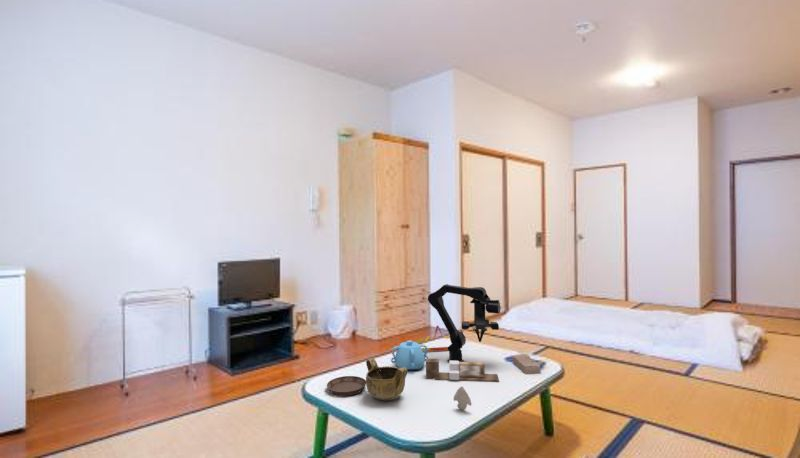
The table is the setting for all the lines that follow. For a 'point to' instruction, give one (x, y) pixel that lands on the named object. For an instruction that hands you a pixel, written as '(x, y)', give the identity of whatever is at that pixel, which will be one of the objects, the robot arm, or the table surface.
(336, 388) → the plant saucer
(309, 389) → the table surface
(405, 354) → the decorative pot
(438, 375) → the wooden shelf
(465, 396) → the arrowhead
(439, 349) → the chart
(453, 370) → the white chair-shaped block
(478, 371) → the wall mounted shelf tray
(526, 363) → the brick
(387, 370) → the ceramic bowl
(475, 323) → the robot arm
